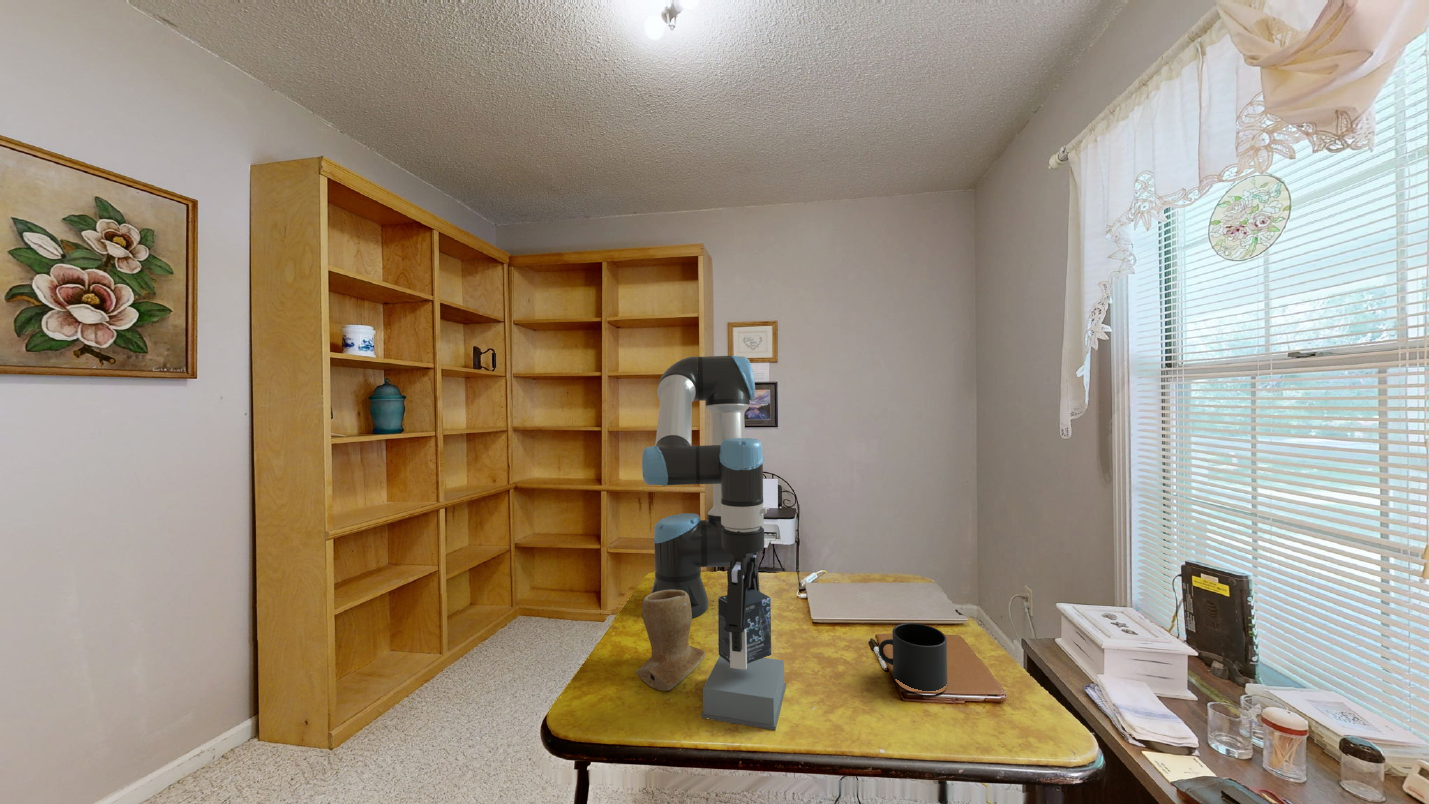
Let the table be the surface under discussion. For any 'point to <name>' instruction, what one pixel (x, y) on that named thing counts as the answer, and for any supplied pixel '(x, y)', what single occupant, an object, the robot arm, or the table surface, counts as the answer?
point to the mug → (918, 656)
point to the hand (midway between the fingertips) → (744, 652)
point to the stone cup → (668, 639)
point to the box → (748, 626)
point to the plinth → (745, 693)
